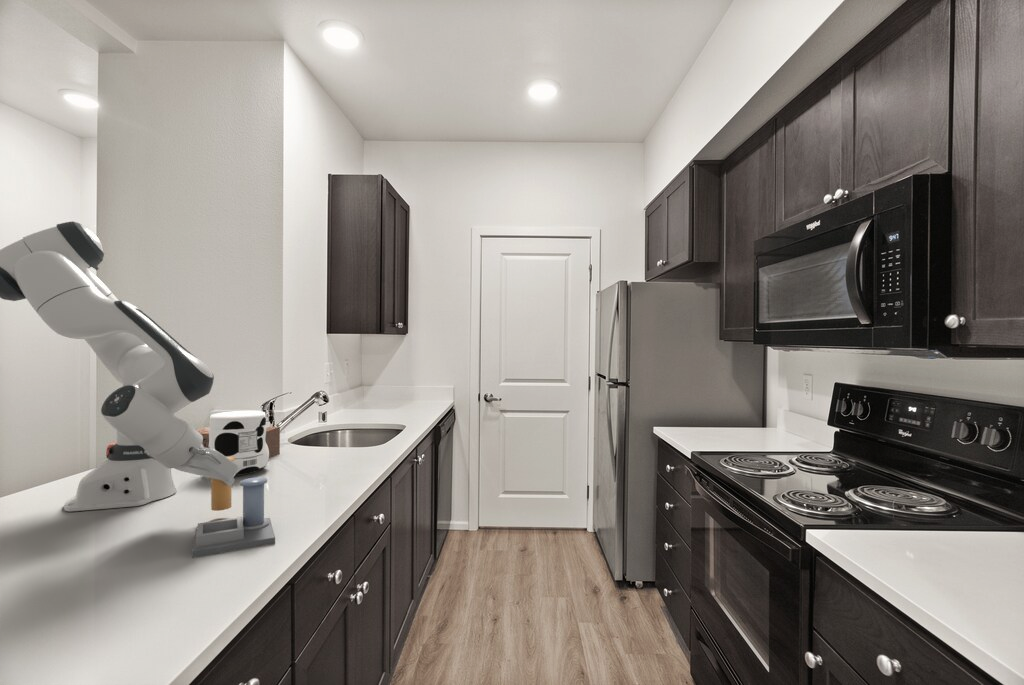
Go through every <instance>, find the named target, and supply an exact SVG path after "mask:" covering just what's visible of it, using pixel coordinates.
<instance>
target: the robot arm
mask: <svg viewBox="0 0 1024 685" xmlns="http://www.w3.org/2000/svg"><path fill="white" fill-rule="evenodd" d="M104 255H105V251H104V249H103V244H102V242H101V240H100V239H99V237H98V236H97V234H95V233H94V232H93V231H92V230H90V229H89V228H87V227H86V226H84V225H82V224H81V223H79V222H75V221H65V222H61V223H57V224H56V226H54V227H53V226H52V227H49V228H46V229H43V230H39V231H37V232H33V233H31V234H28V235H26V236H24V237H22V239H18V240H17V241H13V243H11V244H8V245H6V246H5V247H3V248H1V249H0V299H2V300H4V301H11V302H17V301H21V300H25V299H26V300H27V302H28V303H29V304H30V306H31V307H32V308H33V310H34V311H35V312H36V313H37V314H38V316H39V317H40V318H41V319H42V321H43V322H44V323H45V324H46V325H47V326H48V327H49V328H50V329H51V330H52V331H53V332H55V333H56V334H57V335H60V336H62V337H65V338H69V339H74V340H75V339H76V340H84V341H85V342H86V344H88V345H89V346H90V348H91V349H92V351H93V352H94V353H95V355H96V356H97V357H98V359H99V360H100V361H101V363H102V364H103V365H104V366H105V368H106V369H107V370H108V371H109V372H110V374H111V375H112V376H113V377H114V379H115V380H117V382H119V383H120V384H121V385H122V386H121V387H118V388H117V389H116V390H115V389H114V391H112V392H111V394H109V395H108V396H107V398H106V399H105V400H104V401H103V403H102V405H101V409H100V413H101V415H102V417H103V418H104V420H105V421H106V422H107V423H108V425H110V426H111V427H112V428H113V429H114V430H115V431H116V443H113V442H112V443H110V444H109V445H108V446H107V447H106V460H105V461H103V462H102V463H101V464H99V465H98V466H96V467H95V468H94V469H92V470H91V471H89V472H88V473H87V474H86V475H85V476H83V477H82V478H81V479H80V481H79V483H78V485H77V488H76V494H75V495H73V496H71V497H70V498H69V499H67V500H66V501H65V502H64V504H63V510H64V511H66V512H79V511H93V510H104V509H105V510H106V509H116V508H117V509H118V508H127V507H128V508H129V507H139V506H143V505H145V504H149V503H150V502H151V503H152V502H154V501H157V500H162V499H165V498H167V497H170V496H172V495H174V494H175V493H176V492H177V488H176V485H175V482H174V479H173V474H172V469H175V470H176V471H179V472H184V473H189V474H192V475H196V476H200V477H203V478H205V479H207V480H209V481H210V482H211V478H213V479H218V480H221V482H222V483H224V484H225V485H228V486H231V487H232V485H233V484H234V483H235V481H236V479H235V478H234V477H235V476H237V475H236V473H237V472H238V470H239V467H238V466H237V465H236V464H235V463H234V462H232V461H231V460H230V459H228V458H227V457H225V456H224V455H223V454H221V453H219V452H218V451H216V450H214V449H210V448H204V447H203V444H202V442H203V436H202V435H201V434H200V433H199V432H197V431H196V430H197V429H195V428H194V427H193V426H191V425H190V424H189V423H188V422H187V421H185V420H183V419H181V418H178V417H177V416H176V415H175V414H176V413H177V412H179V411H180V410H182V409H184V408H185V407H187V406H189V405H190V404H191V403H194V402H196V401H198V400H200V399H202V398H204V397H205V396H207V395H209V394H210V393H211V390H212V387H213V384H214V379H215V378H214V374H213V372H212V370H211V369H210V368H209V366H208V365H207V364H206V363H205V362H203V361H202V360H201V359H199V358H197V357H196V356H195V355H194V354H193V353H191V352H190V351H188V350H187V349H186V347H184V346H183V345H182V344H180V343H179V342H178V341H177V339H175V338H173V337H172V336H171V335H170V334H169V333H168V331H166V330H165V329H164V328H163V327H161V326H160V325H159V324H158V323H157V322H156V321H154V319H152V318H151V317H150V316H149V315H147V314H146V313H145V312H144V311H142V309H140V308H139V307H137V306H136V305H135V304H132V303H131V302H129V301H126V300H119V298H117V296H116V295H115V294H114V293H113V292H112V290H111V289H109V287H108V286H107V285H106V283H104V282H103V281H102V280H101V279H100V278H99V277H98V276H97V275H96V274H95V273H94V272H93V271H91V270H90V268H92V269H94V270H96V271H98V270H99V269H100V267H99V265H100V264H101V262H103V260H104V257H105V256H104Z"/></svg>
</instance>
